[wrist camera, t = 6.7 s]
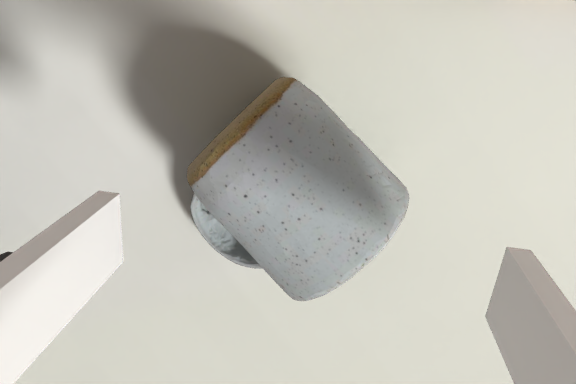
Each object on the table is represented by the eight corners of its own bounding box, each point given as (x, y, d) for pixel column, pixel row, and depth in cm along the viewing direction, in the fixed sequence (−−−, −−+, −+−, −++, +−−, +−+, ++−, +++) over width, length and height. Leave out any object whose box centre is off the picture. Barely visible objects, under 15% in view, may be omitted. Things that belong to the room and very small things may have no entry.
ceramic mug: (295, 54, 23) (270, 79, 16) (403, 167, 25) (425, 235, 18) (167, 188, 27) (102, 255, 20) (268, 279, 28) (241, 371, 21)
